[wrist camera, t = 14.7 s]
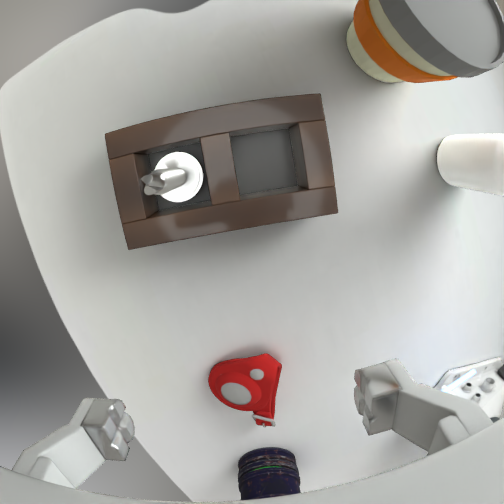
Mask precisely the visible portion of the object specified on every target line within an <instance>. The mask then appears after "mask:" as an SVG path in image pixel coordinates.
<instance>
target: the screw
mask: <svg viewBox="0 0 504 504" xmlns="http://www.w3.org/2000/svg"><path fill="white" fill-rule="evenodd" d="M141 180H142V181H143V182H144V183H145V187H144V193H145V194H146V195H152V194H155V195H161V196H162V197H163V198H165V199H167V200H169V201H172V202H183V201H187V200H189V199H191V198H192V197H193V196H195V195H196V194H197V192H198V191H199V190H200V188H201V186H202V182H203V171H202V168H201V165H200V163H199V162H198V161H197V160H196V159H195V158H194V157H193V156H191V155H190V154H187V153H184V152H174V153H170V154H168V155H166V156H165V157H163V158H162V159H161V160H160V161H159V162H158V164H157V166H156V168H155V170H154V171H152V172H151V173H150V174H149V175H145V176H143V177H142V178H141Z"/></svg>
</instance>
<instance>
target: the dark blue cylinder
mask: <svg viewBox="0 0 504 504" xmlns="http://www.w3.org/2000/svg"><path fill="white" fill-rule="evenodd" d="M238 468H239V473H238V482H239V484H238V487H239V491H240V493H241V500H252V499H262V498H271V497H278V496H285V495H292V494H298V493H301V492H300V487H299V486H300V477H299V471H298V468H297V465H296V460H295V457H294V455H293V454H292V453H291V452H290V451H288V450H285V449H282V448H273V447H269V448H260V449H256V450H253V451H250V452H248V453H246V454H245V455H243V456H242V457H241V458H240V460H239V462H238Z"/></svg>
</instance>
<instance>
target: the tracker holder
mask: <svg viewBox="0 0 504 504" xmlns="http://www.w3.org/2000/svg"><path fill="white" fill-rule="evenodd" d="M281 368H282V365H281V364H280V363H279V362H278V361H277V360H275V359H274V358H273V357H272V356H270V355H269V354H267V353H265V354H261V355H259V356H253V357H248V358H241V359H239V358H237V359H231V360H227V361H223V362H220V363H218V364H216V365H215V366H214V367H213V368H212V370H211V372H210V375H209V379H208V382H209V386H210V389H211V391H212V393H213V394H214V395H215V396H216V397H217V398H218V399H219V400H220V401H221V402H222V403H224V404H225V405H227V406H229V407H232V408H234V409H237V410H242V411H253V413H254V415H252V417H253V418H254V420H255V421H256V424H257V425H263V427H266V426H275V422H274V420H273V419H274V413H275V397H276V392H277V387H278V382H279V377H280V373H281Z"/></svg>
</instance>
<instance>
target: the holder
mask: <svg viewBox="0 0 504 504" xmlns="http://www.w3.org/2000/svg"><path fill="white" fill-rule="evenodd" d="M288 128H289V134H290V140H291V146H292V152H293V158H294V165H295V171H296V178H297V185H298V186H292V187H285V188H279V189H273V190H266V191H260V192H254V193H248V194H242V195H240V194H239V188H238V183H237V177H236V171H235V165H234V159H233V154H232V148H231V142H230V137H233V136H239V135H245V134H251V133H258V132H265V131H272V130H280V129H288ZM105 139H106V146H107V152H108V158H109V164H110V169H111V175H112V180H113V185H114V190H115V195H116V200H117V205H118V209H119V214H120V218H121V222H122V227H123V231H124V235H125V239H126V243H127V247H128V250H131V249H136V248H141V247H146V246H152V245H157V244H162V243H167V242H173V241H178V240H183V239H189V238H194V237H200V236H205V235H211V234H216V233H222V232H228V231H233V230H239V229H245V228H251V227H257V226H262V225H268V224H274V223H280V222H286V221H292V220H298V219H305V218H311V217H317V216H323V215H330V214H336V213H338V207H337V198H336V190H335V181H334V173H333V166H332V159H331V152H330V145H329V139H328V133H327V126H326V121H325V115H324V109H323V104H322V98H321V94H320V93H319V94H305V95H294V96H284V97H275V98H267V99H259V100H252V101H245V102H238V103H232V104H226V105H220V106H215V107H209V108H204V109H199V110H194V111H189V112H185V113H180V114H176V115H172V116H167V117H163V118H159V119H155V120H151V121H147V122H144V123H140V124H136V125H133V126H129V127H126V128H122V129H119V130H116V131H112V132H109V133H106V134H105ZM200 142H201V148H202V154H203V159H204V165H205V171H206V176H207V182H208V187H209V193H210V198H211V200H209V201H203V202H198V203H193V204H188V205H183V206H178V207H173V208H168V209H163V210H159V208H158V203H157V198H156V195H155V194H152V195H146V194H145V193H144V187H145V183H144V182H143V181H142V180H141V178H142V177H143V176H145V175H149V174H150V173H151V167H150V162H149V156H148V154H151V153H155V152H159V151H163V150H168V149H172V148H177V147H181V146H186V145H191V144H195V143H200Z"/></svg>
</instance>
